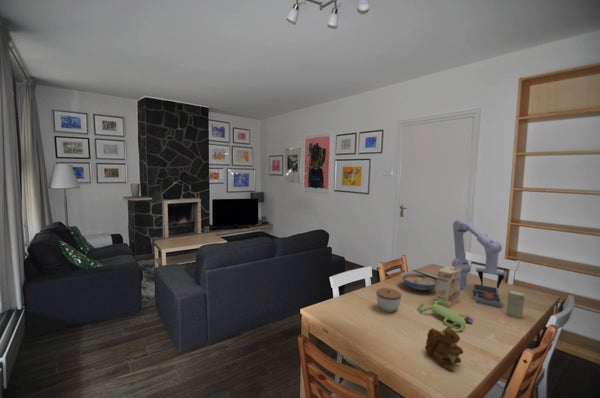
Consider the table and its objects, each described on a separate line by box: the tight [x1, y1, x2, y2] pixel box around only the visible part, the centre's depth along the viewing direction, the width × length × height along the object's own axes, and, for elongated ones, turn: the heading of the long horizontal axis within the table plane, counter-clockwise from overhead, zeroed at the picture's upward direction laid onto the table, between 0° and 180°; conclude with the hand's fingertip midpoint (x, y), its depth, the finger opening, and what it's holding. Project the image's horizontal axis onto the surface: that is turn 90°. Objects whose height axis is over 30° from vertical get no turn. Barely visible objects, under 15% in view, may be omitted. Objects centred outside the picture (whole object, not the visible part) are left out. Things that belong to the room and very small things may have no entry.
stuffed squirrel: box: [424, 325, 464, 372], centre depth 112 cm, size 10×14×13 cm
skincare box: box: [505, 290, 525, 319], centre depth 148 cm, size 6×4×12 cm
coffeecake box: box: [435, 265, 461, 309], centre depth 162 cm, size 15×7×20 cm, turn 129°
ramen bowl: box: [400, 269, 438, 292], centre depth 182 cm, size 25×23×8 cm
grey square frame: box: [472, 283, 500, 298], centre depth 175 cm, size 13×13×4 cm
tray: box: [475, 293, 503, 309], centre depth 164 cm, size 12×9×2 cm
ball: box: [483, 292, 494, 301], centre depth 164 cm, size 5×5×5 cm
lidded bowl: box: [376, 287, 402, 313], centre depth 153 cm, size 13×13×11 cm
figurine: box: [416, 297, 474, 333], centre depth 145 cm, size 18×27×6 cm
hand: (489, 286), depth 164 cm, fingers open, 7 cm apart
